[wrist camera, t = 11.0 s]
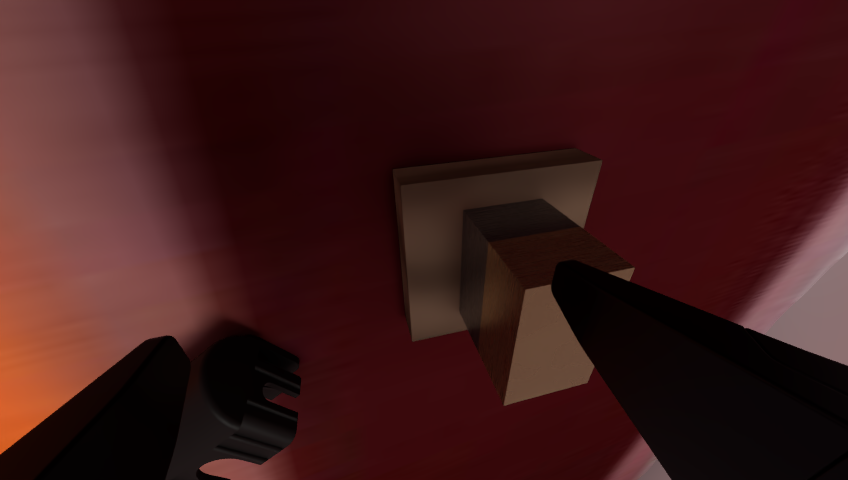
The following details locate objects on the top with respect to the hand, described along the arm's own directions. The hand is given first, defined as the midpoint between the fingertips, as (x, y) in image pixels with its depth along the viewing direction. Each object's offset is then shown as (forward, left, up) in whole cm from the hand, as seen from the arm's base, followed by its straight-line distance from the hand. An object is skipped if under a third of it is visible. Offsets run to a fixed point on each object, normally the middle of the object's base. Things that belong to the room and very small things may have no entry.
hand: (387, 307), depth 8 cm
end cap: (+15, -12, -12) cm, 23 cm away
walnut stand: (+7, +8, -12) cm, 16 cm away
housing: (+7, +8, -10) cm, 14 cm away
